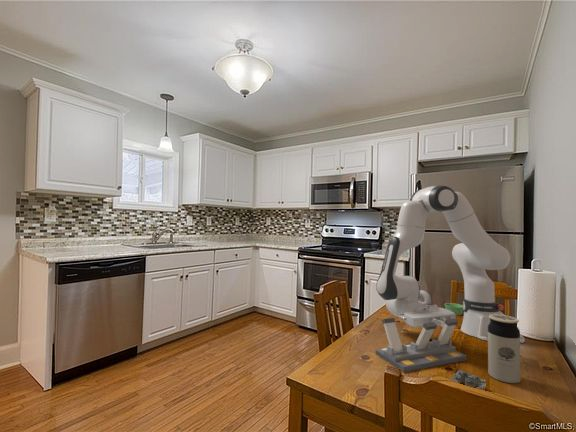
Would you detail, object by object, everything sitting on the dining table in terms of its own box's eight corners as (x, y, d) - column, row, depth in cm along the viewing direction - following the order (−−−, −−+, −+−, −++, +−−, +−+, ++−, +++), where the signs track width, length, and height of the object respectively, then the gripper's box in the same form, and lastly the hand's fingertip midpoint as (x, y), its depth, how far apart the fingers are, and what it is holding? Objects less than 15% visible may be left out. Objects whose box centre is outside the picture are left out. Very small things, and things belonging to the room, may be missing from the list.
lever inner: (435, 343, 108) (445, 319, 104) (444, 341, 110) (454, 318, 106) (438, 346, 107) (449, 322, 103) (447, 345, 108) (458, 321, 104)
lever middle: (413, 346, 105) (424, 323, 100) (422, 344, 106) (434, 322, 102) (416, 350, 104) (427, 326, 99) (425, 348, 105) (437, 325, 101)
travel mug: (489, 368, 97) (489, 312, 97) (520, 376, 92) (520, 317, 92) (486, 378, 91) (486, 317, 91) (520, 387, 85) (519, 323, 86)
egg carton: (479, 406, 76) (479, 390, 77) (447, 394, 82) (447, 379, 82) (488, 390, 84) (488, 375, 84) (458, 380, 89) (458, 366, 89)
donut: (432, 309, 166) (432, 291, 166) (428, 310, 164) (428, 292, 164) (416, 305, 174) (416, 288, 175) (412, 306, 172) (412, 288, 173)
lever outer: (391, 352, 101) (381, 319, 106) (401, 351, 102) (391, 318, 107) (393, 352, 100) (384, 318, 105) (404, 350, 101) (394, 317, 106)
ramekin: (466, 316, 154) (466, 308, 154) (447, 315, 156) (447, 306, 156) (460, 311, 163) (460, 303, 163) (442, 310, 165) (442, 302, 165)
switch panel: (375, 353, 107) (375, 339, 107) (433, 344, 116) (433, 331, 116) (403, 372, 93) (403, 355, 94) (466, 360, 103) (466, 345, 103)
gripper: (396, 307, 116) (424, 318, 103) (437, 303, 123) (468, 313, 110) (396, 324, 115) (424, 336, 102) (437, 319, 122) (468, 330, 109)
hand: (447, 324), depth 106 cm, fingers closed, pressing on lever inner
